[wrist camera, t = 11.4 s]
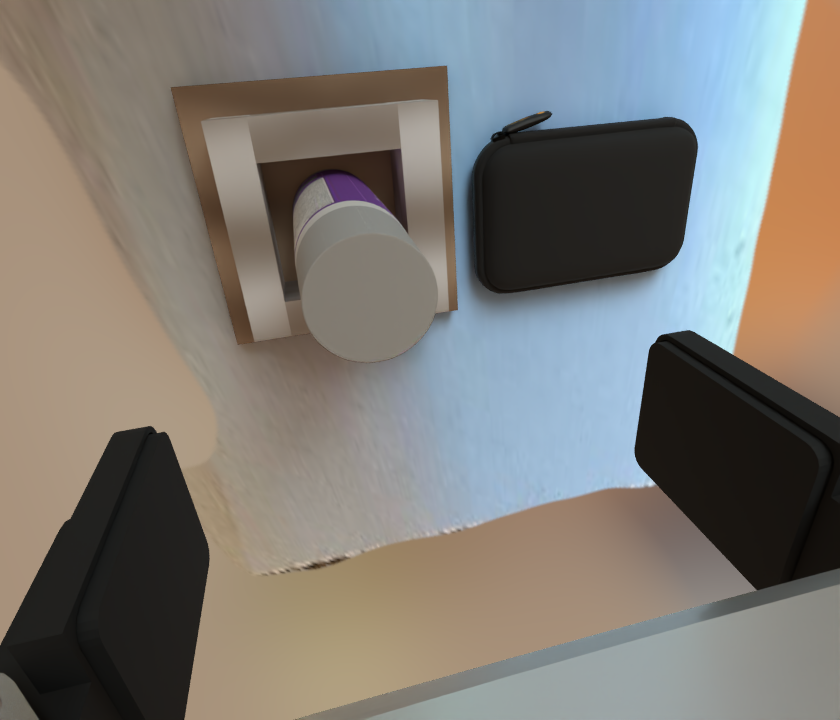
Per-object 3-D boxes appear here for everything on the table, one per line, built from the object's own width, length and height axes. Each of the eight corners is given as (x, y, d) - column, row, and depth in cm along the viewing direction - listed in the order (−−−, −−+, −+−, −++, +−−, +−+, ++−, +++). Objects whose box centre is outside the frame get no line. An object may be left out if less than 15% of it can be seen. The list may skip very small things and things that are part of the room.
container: (391, 203, 30) (470, 284, 17) (344, 267, 32) (385, 389, 18) (323, 149, 28) (355, 196, 15) (275, 220, 29) (267, 319, 16)
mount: (175, 87, 27) (155, 86, 23) (441, 66, 29) (466, 62, 25) (239, 336, 33) (232, 370, 29) (452, 303, 36) (474, 330, 31)
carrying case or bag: (686, 95, 33) (463, 117, 31) (721, 95, 31) (479, 119, 28) (663, 259, 38) (469, 289, 36) (691, 271, 36) (484, 305, 33)
